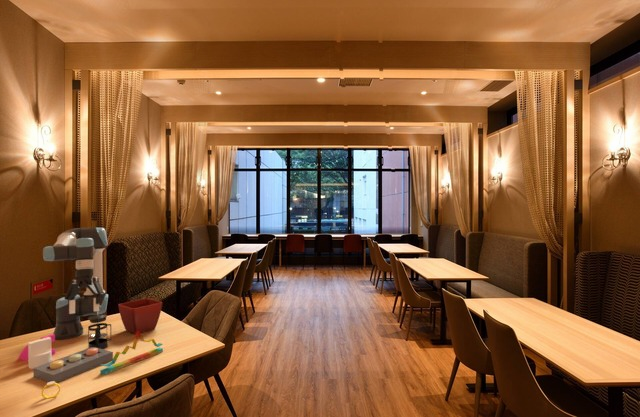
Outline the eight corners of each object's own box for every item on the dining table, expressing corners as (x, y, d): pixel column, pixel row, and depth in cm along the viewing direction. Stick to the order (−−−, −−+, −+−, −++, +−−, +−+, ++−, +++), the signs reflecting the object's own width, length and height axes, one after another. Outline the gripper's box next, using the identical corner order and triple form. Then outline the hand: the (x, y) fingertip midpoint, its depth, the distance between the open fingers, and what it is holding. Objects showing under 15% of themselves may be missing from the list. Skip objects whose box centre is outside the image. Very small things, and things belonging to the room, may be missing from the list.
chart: (104, 375, 163) (103, 343, 163) (100, 374, 165) (100, 341, 165) (163, 352, 189) (162, 324, 189) (159, 351, 191) (159, 323, 191)
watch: (41, 401, 142) (40, 386, 142) (43, 398, 144) (41, 383, 144) (60, 396, 145) (58, 381, 145) (61, 393, 147) (59, 379, 147)
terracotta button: (83, 356, 177) (83, 350, 177) (93, 353, 181) (93, 347, 181) (90, 358, 175) (89, 352, 175) (100, 354, 179) (100, 348, 179)
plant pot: (147, 322, 237) (147, 297, 237) (163, 328, 226) (163, 301, 226) (117, 331, 222) (117, 304, 222) (133, 337, 211) (132, 309, 211)
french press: (85, 352, 189) (84, 309, 189) (87, 346, 198) (86, 305, 198) (111, 348, 195) (110, 306, 195) (111, 342, 203) (111, 302, 203)
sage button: (66, 363, 170) (66, 356, 170) (77, 359, 174) (77, 353, 174) (72, 365, 168) (72, 358, 167) (83, 360, 172) (83, 354, 172)
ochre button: (47, 370, 162) (47, 363, 162) (59, 365, 167) (59, 359, 167) (53, 372, 160) (53, 365, 160) (65, 367, 165) (65, 361, 165)
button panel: (33, 376, 162) (33, 368, 162) (93, 354, 186) (93, 346, 186) (53, 384, 155) (53, 374, 155) (112, 359, 180) (112, 351, 179)
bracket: (55, 354, 188) (54, 334, 188) (33, 362, 178) (33, 341, 178) (40, 351, 192) (39, 332, 192) (18, 358, 182) (18, 338, 182)
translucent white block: (33, 370, 169) (32, 345, 169) (25, 366, 174) (24, 341, 174) (55, 363, 177) (54, 339, 176) (47, 359, 181) (46, 335, 181)
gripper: (56, 271, 177) (55, 315, 173) (100, 266, 173) (100, 311, 169) (69, 271, 184) (68, 313, 180) (112, 266, 180) (112, 309, 177)
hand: (84, 312), depth 175 cm, fingers open, 13 cm apart
